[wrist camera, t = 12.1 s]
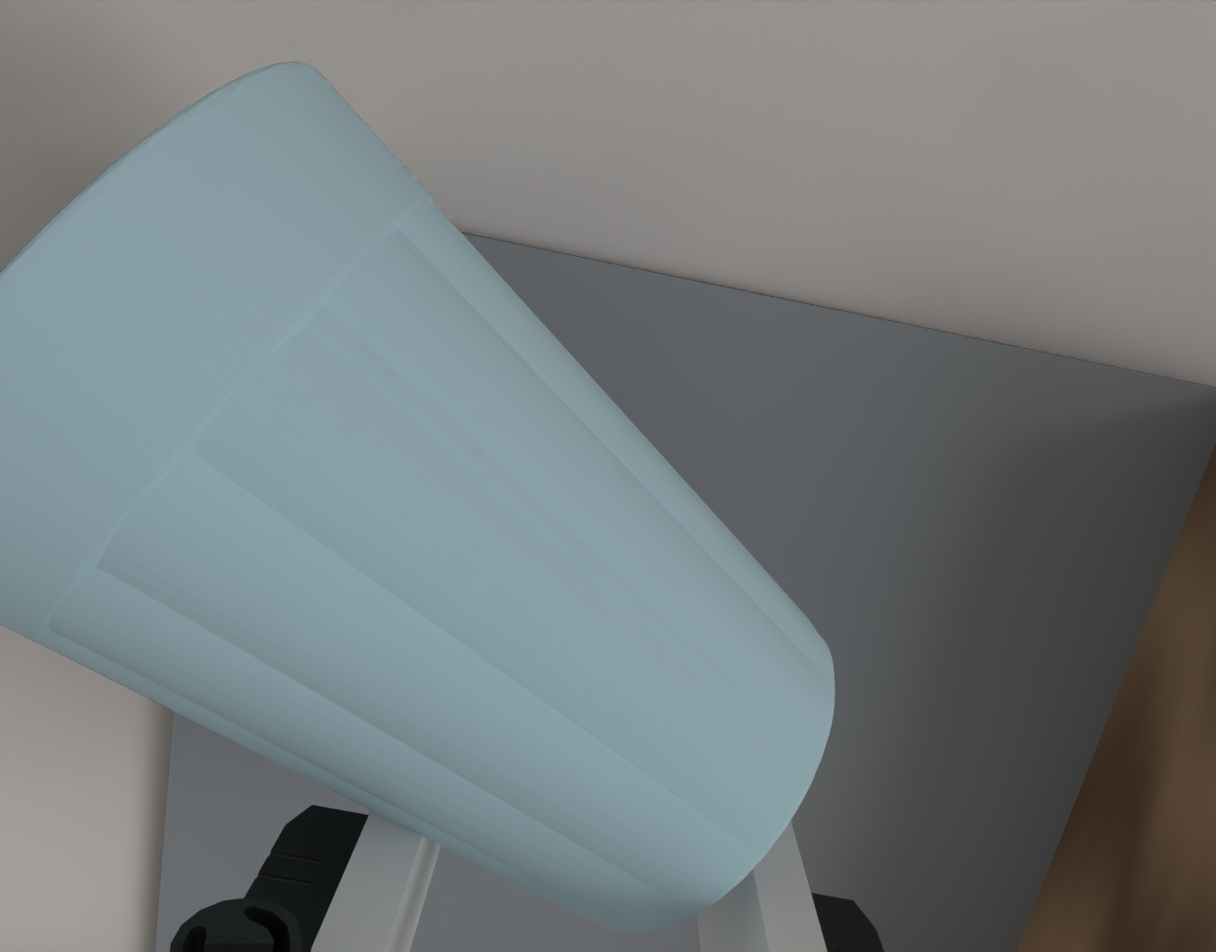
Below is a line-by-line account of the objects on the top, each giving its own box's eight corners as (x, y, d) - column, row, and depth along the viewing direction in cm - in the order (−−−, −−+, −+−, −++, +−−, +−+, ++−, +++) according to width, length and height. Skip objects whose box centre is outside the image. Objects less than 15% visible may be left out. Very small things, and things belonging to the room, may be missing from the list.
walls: (223, 183, 17) (58, 166, 12) (1297, 403, 17) (1558, 473, 12) (154, 1054, 22) (21, 1287, 17) (971, 1195, 23) (1064, 1457, 18)
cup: (494, 856, 17) (-5, 515, 14) (735, 539, 18) (317, 166, 16) (626, 1169, 10) (-329, 604, 7) (1008, 613, 11) (319, -60, 8)
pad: (223, 183, 17) (214, 182, 16) (1221, 388, 17) (1235, 392, 17) (157, 1006, 22) (149, 1020, 21) (931, 1140, 22) (936, 1156, 22)
